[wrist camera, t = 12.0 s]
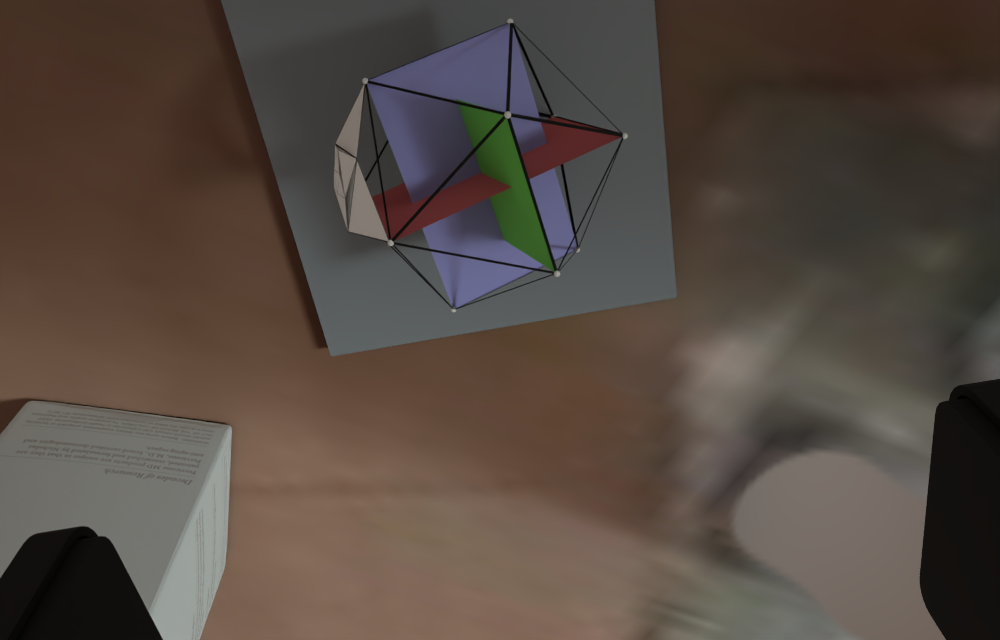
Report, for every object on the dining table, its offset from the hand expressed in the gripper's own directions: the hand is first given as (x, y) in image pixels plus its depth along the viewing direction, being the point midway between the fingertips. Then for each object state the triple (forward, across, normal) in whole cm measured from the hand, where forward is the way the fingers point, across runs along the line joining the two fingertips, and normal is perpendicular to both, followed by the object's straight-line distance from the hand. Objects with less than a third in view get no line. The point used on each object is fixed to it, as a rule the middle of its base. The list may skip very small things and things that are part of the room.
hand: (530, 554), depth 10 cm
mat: (+18, +1, 0) cm, 18 cm away
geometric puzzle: (+18, 0, 0) cm, 18 cm away
